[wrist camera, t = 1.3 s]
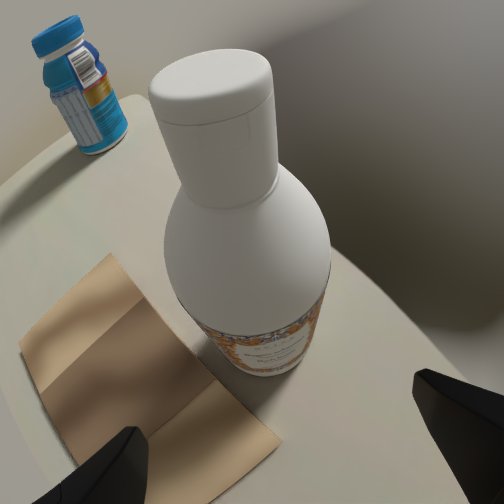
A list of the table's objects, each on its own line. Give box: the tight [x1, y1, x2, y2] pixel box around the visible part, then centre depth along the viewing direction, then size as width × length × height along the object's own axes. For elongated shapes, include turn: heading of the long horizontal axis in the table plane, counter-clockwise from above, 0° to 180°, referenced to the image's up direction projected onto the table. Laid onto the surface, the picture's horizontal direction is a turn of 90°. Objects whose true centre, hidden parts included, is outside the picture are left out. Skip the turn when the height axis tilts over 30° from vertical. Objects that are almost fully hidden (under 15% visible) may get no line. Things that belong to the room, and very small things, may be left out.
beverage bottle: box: [31, 15, 128, 155], centre depth 31 cm, size 8×8×20 cm
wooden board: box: [18, 253, 282, 504], centre depth 21 cm, size 22×14×1 cm, turn 45°
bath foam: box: [148, 49, 331, 376], centre depth 15 cm, size 7×7×20 cm
